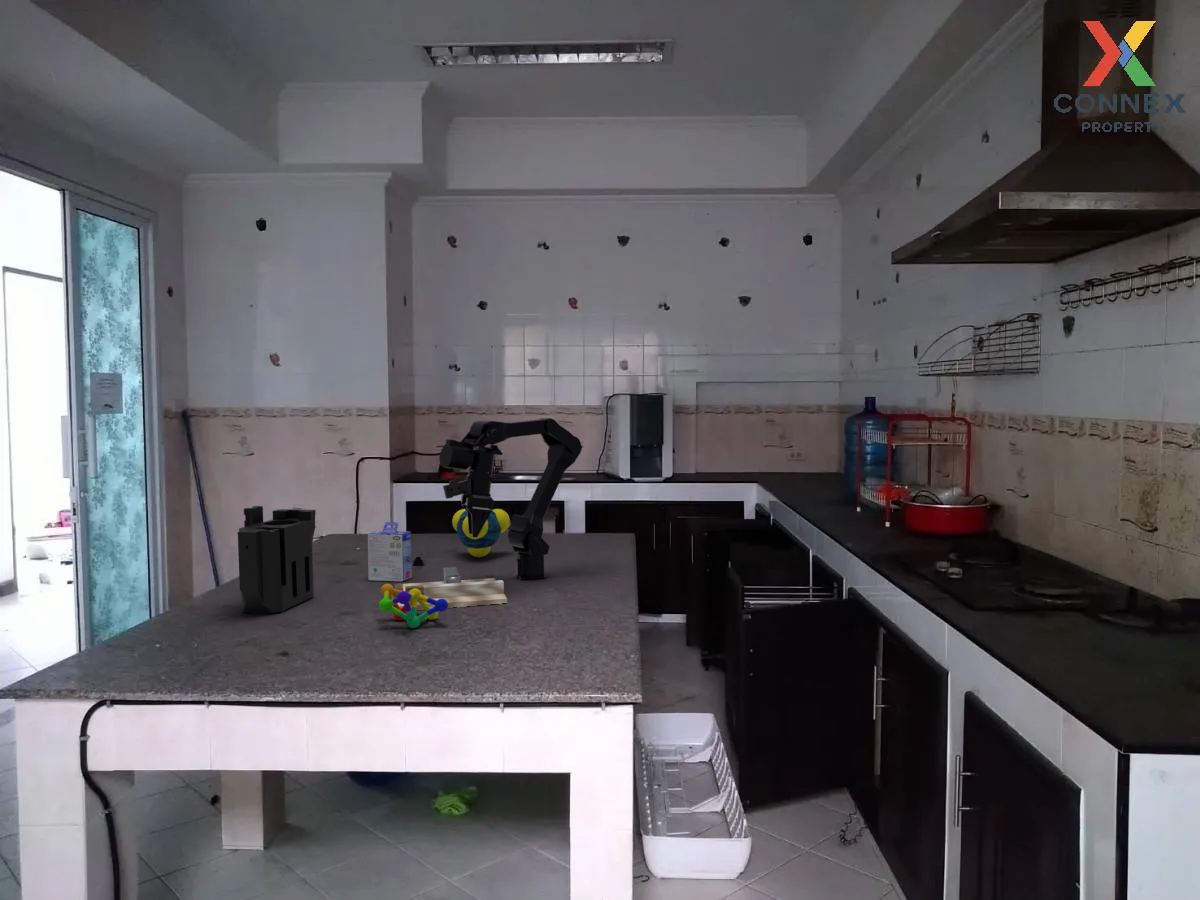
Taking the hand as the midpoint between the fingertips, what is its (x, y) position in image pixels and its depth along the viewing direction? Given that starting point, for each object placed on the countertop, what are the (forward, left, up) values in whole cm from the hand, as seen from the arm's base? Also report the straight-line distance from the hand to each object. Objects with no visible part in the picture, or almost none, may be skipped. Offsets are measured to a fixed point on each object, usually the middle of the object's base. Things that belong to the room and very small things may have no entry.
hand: (472, 535), depth 204 cm
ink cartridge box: (+20, -15, -13) cm, 28 cm away
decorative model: (+16, +29, -13) cm, 35 cm away
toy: (-5, -36, -13) cm, 39 cm away
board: (+7, +8, -13) cm, 16 cm away
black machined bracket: (+46, +5, -13) cm, 48 cm away
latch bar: (+6, +4, -11) cm, 13 cm away
